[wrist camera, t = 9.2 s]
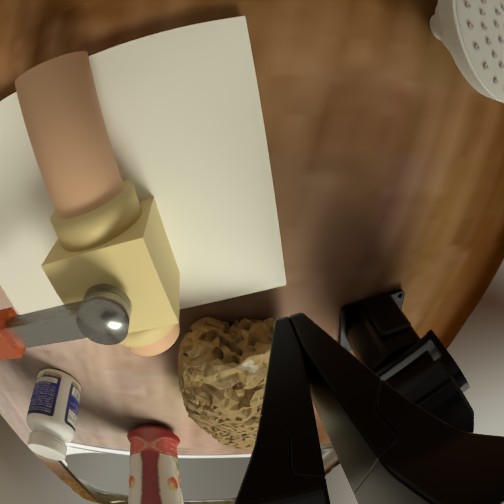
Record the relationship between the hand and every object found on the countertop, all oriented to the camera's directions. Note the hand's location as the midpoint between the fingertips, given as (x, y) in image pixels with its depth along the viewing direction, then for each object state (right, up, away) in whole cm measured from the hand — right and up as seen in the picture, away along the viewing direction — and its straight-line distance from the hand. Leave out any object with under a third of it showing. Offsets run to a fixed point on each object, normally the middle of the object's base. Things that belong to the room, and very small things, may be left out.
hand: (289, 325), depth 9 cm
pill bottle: (-22, -12, +18) cm, 31 cm away
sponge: (-1, -10, +21) cm, 24 cm away
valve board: (-11, +5, +9) cm, 15 cm away
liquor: (-14, -21, +25) cm, 36 cm away
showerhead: (+12, +18, +5) cm, 22 cm away
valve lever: (-13, -2, +5) cm, 14 cm away
